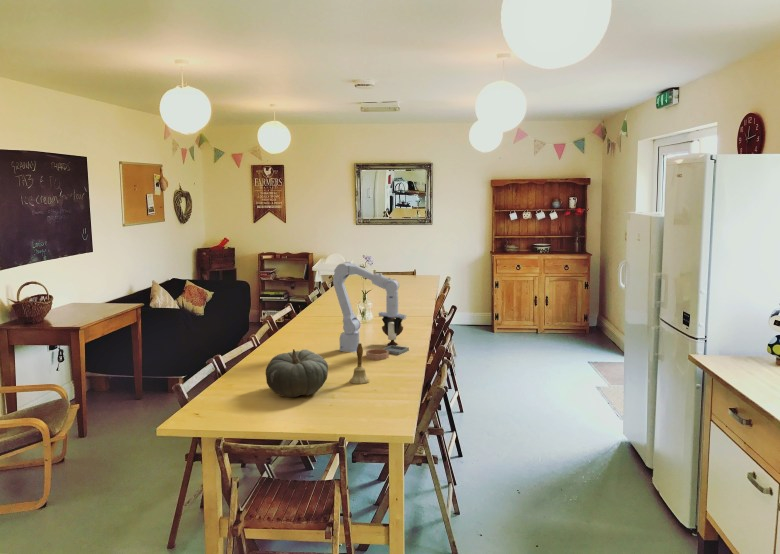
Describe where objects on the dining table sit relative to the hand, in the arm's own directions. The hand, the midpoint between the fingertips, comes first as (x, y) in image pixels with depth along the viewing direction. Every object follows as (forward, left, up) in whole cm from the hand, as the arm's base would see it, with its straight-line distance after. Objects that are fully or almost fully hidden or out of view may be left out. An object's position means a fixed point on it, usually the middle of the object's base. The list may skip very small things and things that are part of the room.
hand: (392, 332), depth 298 cm
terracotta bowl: (-2, -11, -10) cm, 15 cm away
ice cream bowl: (-9, +15, -11) cm, 20 cm away
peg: (0, 0, -3) cm, 3 cm away
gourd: (-2, -70, -11) cm, 71 cm away
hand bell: (+11, -46, -11) cm, 49 cm away
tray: (0, +2, -10) cm, 11 cm away
